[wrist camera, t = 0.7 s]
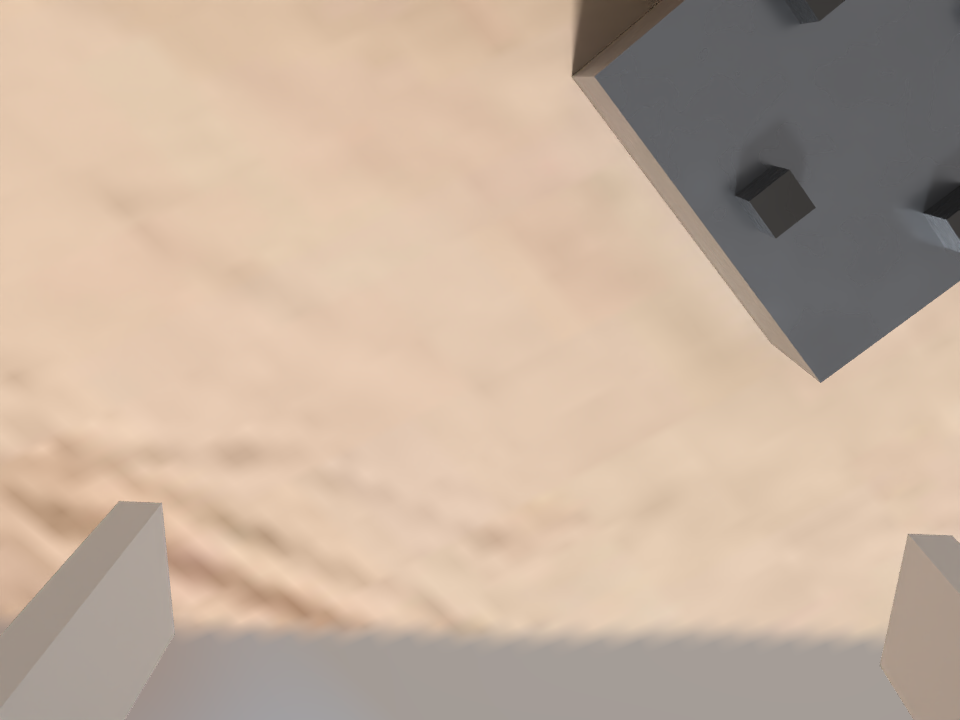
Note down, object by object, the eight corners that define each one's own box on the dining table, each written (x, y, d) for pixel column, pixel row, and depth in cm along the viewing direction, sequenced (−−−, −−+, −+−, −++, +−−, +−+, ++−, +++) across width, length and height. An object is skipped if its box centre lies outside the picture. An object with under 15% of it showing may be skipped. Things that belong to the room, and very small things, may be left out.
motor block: (571, 76, 33) (602, 76, 27) (881, -186, 31) (991, -251, 25) (771, 343, 37) (838, 396, 31) (1060, 126, 35) (1195, 137, 29)
